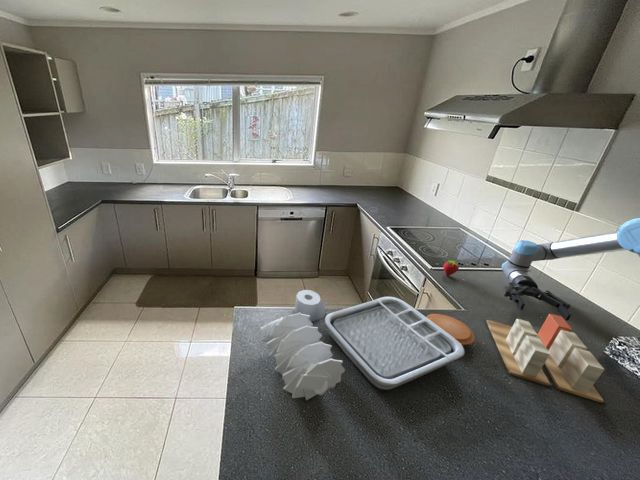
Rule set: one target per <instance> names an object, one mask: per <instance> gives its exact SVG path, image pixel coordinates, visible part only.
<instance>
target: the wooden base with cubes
mask: <svg viewBox="0 0 640 480" xmlns="http://www.w3.org/2000/svg"><path fill="white" fill-rule="evenodd" d="M485 323H486V325H487V327H488V329H489V331H490V333H491V336H492V338H493V340H494V343H495V346H496V348H497V349H498V352H499V354H500V356H501V358H502V361H503V363H504V365H505V367H506V369H507V372H508V375H512V376H515V377H517V378H521V379H524V380H528V381H530V382H533V383H537V384H540V385H544V386H546V387H550V386H551V385H552V384H551V383H550V381H549V379H548V377H547V375H546V374H545V372H544V370H543V367H544V363H545V362H546V360H547V358H548V357H549V355H550V354H549V352H548V351H547V349H546V347H545V346H544V344H543V343H542V341H541V340H540V338H536V337H537V333H538V332H536V330H535V329H534V327H533V325H532V324H531V322H530V321H528V320H524V319H521V318H516V319H515V320H514V323H513V325H508V324H505V323H501V322H497V321H494V320H490V319H486V321H485Z"/></svg>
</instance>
